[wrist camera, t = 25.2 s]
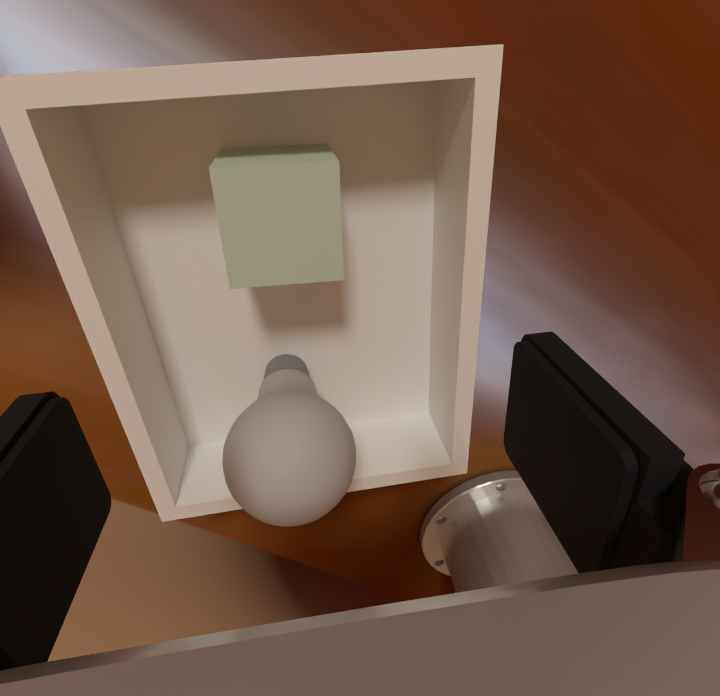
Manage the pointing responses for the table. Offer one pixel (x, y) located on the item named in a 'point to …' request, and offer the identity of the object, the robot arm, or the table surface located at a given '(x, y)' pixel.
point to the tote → (281, 302)
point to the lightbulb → (289, 450)
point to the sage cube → (279, 214)
